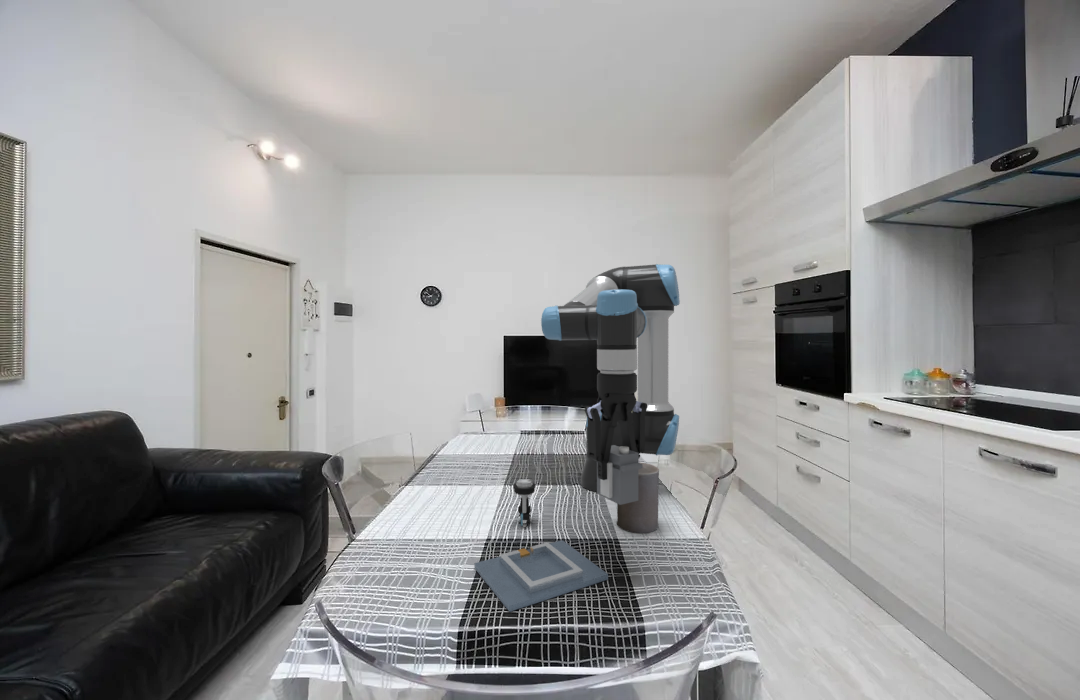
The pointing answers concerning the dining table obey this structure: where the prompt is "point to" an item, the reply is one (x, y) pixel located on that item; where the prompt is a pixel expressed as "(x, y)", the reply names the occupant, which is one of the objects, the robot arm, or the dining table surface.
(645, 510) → the pillar candle
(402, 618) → the dining table surface
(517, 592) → the plate
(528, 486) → the push button
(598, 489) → the servo
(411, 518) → the dining table surface
